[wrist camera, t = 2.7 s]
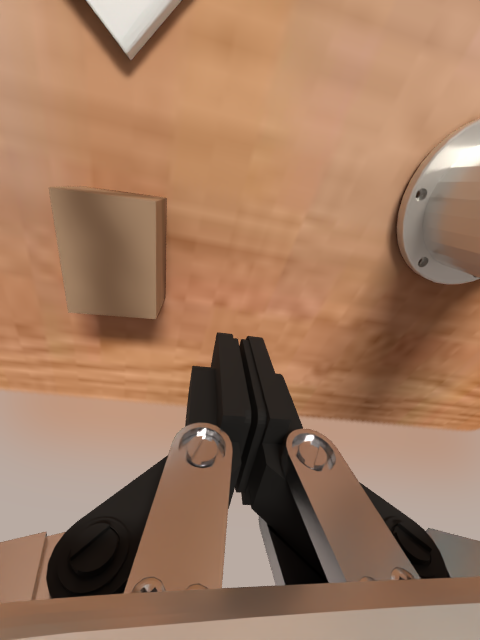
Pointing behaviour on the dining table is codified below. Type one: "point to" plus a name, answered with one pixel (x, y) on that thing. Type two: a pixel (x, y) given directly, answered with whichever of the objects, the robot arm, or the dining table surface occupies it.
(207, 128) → the dining table surface
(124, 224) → the walnut block
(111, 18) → the external hard drive
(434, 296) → the dining table surface
